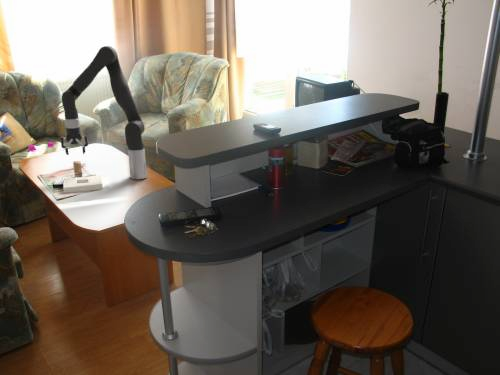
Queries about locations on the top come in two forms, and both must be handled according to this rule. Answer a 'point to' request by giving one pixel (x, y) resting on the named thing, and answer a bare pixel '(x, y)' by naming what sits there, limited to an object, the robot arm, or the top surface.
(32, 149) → the toy block
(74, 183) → the socket board
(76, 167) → the oak peg
